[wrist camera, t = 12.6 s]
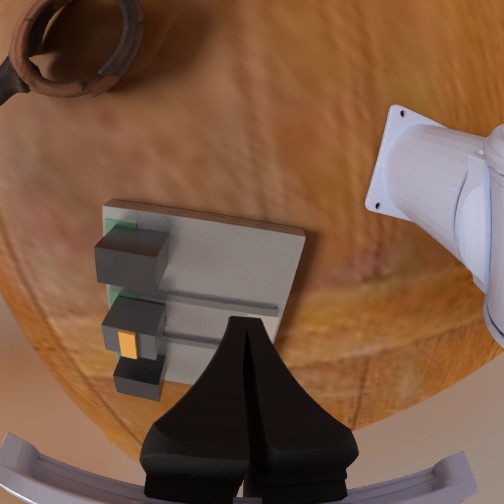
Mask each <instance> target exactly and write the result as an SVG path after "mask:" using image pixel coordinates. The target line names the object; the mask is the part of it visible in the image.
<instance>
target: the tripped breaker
mask: <svg viewBox="0 0 504 504" xmlns="http://www.w3.org/2000/svg"><path fill="white" fill-rule="evenodd" d="M102 331H103V337H104V342H105V347H106V349H108V350H112V351H116V352H120V353H121V355H122V356H124V357H128V358H133V359H137V357H142V358H147V359H152V360H156V358H157V355H158V351H159V348H160V344H161V341H162V337H163V334H164V331H165V305H160V304H154V303H149V302H143V301H138V300H133V299H128V298H123V297H118V296H117V297H116V299H115V301H114V303H113V305H112V306H111V308H110V310H109V312H108V314H107V315H106V317H105V319H104V321H103V323H102Z"/></svg>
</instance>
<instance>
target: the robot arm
mask: <svg viewBox="0 0 504 504" xmlns="http://www.w3.org/2000/svg"><path fill="white" fill-rule="evenodd" d="M401 111H403V112H404V116H403V117H401V115H400V112H401ZM377 203H380V204H379V207H377V208H375V205H376V204H377ZM365 207H366V208H367V209H368V210H370V211H373V212H377V213H381V214H385V215H389V216H393V217H397V218H401V219H404V220H408V221H412V222H415V223H416V224H417V225H419V226H420V227H421V228H422V229H424V230H425V231H426V232H427V233H428V234H430V235H431V236H432V237H433V238H434V239H436V240H437V241H438V242H439V243H440V244H442V245H443V246H444V247H445V248H446V249H447V250H448V251H450V252H451V253H452V254H453V255H454V256H455V257H456V258H457V259H458V260H460V261H461V262H462V263H463V264H464V265H465V266H466V267H467V268H468V269H469V270H470V271H471V272H472V275H473V282H474V283H475V284H476V285H477V286H478V287H479V288H480V289H481V290H482V291H483V293H484V294H485V299H484V306H483V314H484V319H485V323H486V326H487V328H488V330H489V332H490V334H491V335H492V337H493V338H494V339H495V340H496V342H497V343H499V344H500V345H501V346H502V347H503V348H504V124H502V125H499V126H498V127H496V128H495V129H494V130H493V132H492V133H491V134H490V135H489V136H488V137H487V138H485V137H482V136H478V135H474V134H470V133H466V132H462V131H457V130H453V129H449V128H447V127H445V126H443V125H441V124H439V123H437V122H435V121H433V120H431V119H429V118H427V117H425V116H423V115H420V114H418V113H416V112H414V111H411V110H409V109H407V108H405V107H402V106H400V105H395V104H394V105H392V106H391V107H390V109H389V113H388V117H387V122H386V126H385V130H384V134H383V138H382V142H381V146H380V150H379V154H378V158H377V162H376V165H375V169H374V173H373V176H372V180H371V183H370V187H369V190H368V193H367V197H366V200H365ZM358 455H359V451H358V447H357V443H356V441H355V438H354V436H353V434H352V431H351V429H349V428H348V427H346V426H345V425H343V424H342V423H341V422H339V421H338V420H336V419H335V418H333V417H332V416H331V415H330V414H329V413H327V412H326V411H325V410H324V409H323V408H322V407H321V406H320V405H319V404H317V403H316V402H315V401H314V400H313V399H312V398H311V397H310V396H309V395H308V394H307V393H306V391H305V390H304V389H303V388H302V387H301V386H300V385H299V383H298V382H297V381H296V380H295V378H294V377H293V376H292V374H291V373H290V371H289V370H288V369H287V367H286V366H285V364H284V363H283V361H282V359H281V358H280V356H279V354H278V353H277V351H276V349H275V347H274V346H273V344H272V342H271V340H270V338H269V336H268V333H267V331H266V329H265V326H264V324H263V321H262V319H261V318H255V317H242V316H230V317H229V318H228V324H227V327H226V330H225V333H224V335H223V338H222V340H221V342H220V344H219V346H218V348H217V350H216V352H215V354H214V356H213V357H212V359H211V361H210V362H209V364H208V366H207V367H206V369H205V370H204V372H203V373H202V374H201V376H200V377H199V378H198V380H197V381H196V382H195V383H194V385H193V386H192V387H191V388H190V390H189V391H188V392H187V393H186V394H185V395H184V396H183V397H182V398H181V399H180V400H179V401H178V402H177V403H176V404H175V405H174V406H173V407H172V408H171V409H170V410H169V411H168V412H166V413H165V414H164V415H163V416H162V417H160V418H159V419H158V420H157V421H155V422H154V423H153V425H152V426H151V428H150V430H149V432H148V434H147V436H146V438H145V440H144V442H143V445H142V449H141V454H140V459H139V460H140V463H141V465H142V467H143V469H144V471H145V472H146V474H147V475H146V481H145V486H140V485H136V484H131V483H127V482H123V481H119V480H115V479H112V478H108V477H104V476H101V475H98V474H94V473H91V472H88V471H85V470H82V469H79V468H76V467H74V466H71V465H68V464H66V463H63V462H60V461H58V460H55V459H53V458H50V457H48V456H45V455H43V454H41V453H39V451H38V450H37V449H36V448H35V447H34V446H33V445H32V444H30V443H29V442H27V441H25V440H23V439H21V438H19V437H17V436H15V435H13V434H11V433H9V432H8V433H6V435H5V437H4V440H3V442H2V445H1V447H0V486H1V487H3V488H4V489H5V490H7V491H8V492H10V493H12V494H13V495H15V496H16V497H18V498H20V499H21V500H23V501H25V502H27V503H29V504H459V503H461V502H463V501H464V500H466V499H468V498H469V497H471V496H473V495H474V494H476V493H477V492H478V490H479V489H478V487H477V484H476V481H475V479H474V476H473V473H472V471H471V468H470V466H469V464H468V461H467V459H466V456H465V454H464V452H463V451H461V452H458V453H456V454H453V455H451V456H448V457H446V458H444V459H442V460H441V461H439V462H438V463H437V464H435V465H434V467H432V468H429V469H426V470H423V471H420V472H417V473H414V474H411V475H407V476H404V477H401V478H396V479H393V480H389V481H385V482H381V483H377V484H372V485H368V486H363V487H358V488H353V489H346V484H345V479H346V478H347V473H346V468H347V467H349V465H351V464H352V463H353V462H354V461H355V459H356V458H357V456H358ZM243 480H244V483H243V497H236V496H237V493H238V490H239V487H240V486H241V485H242V482H243Z"/></svg>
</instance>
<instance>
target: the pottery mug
mask: <svg viewBox="0 0 504 504" xmlns="http://www.w3.org/2000/svg"><path fill="white" fill-rule="evenodd" d="M71 1H73V0H32V1H31V2H30V4H29V5H28V6H27V7H26V8H25V10H24V11H23V13H22V14H21V16H20V18H19V20H18V21H17V23H16V26H15V28H14V31H13V33H12V40H11V45H10V49H9V53H8V56H7V57H6V59H5V61H4V62H3V63H2V64H1V66H0V106H1V105H2V104H3V103H5V102H6V101H7V100H8V99H9V98H10V97H11V96H13V95H14V94H16V93H20V92H21V93H29V92H30V91H33V92H36V93H39V94H43V95H46V96H51V97H66V98H71V97H78V96H82V95H86V94H88V93H90V92H91V93H92V94H93V96H94V97H96V96H98V95H100V94H102V93H103V92H105V91H107V90H108V89H110V88H111V87H113V86H114V85H115V84H116V83H118V82H119V78H122V77H123V76H125V75H126V73H127V72H128V70H129V68H130V66H131V65H132V63H133V61H134V59H135V57H136V54H137V52H138V50H139V47H140V45H141V42H142V38H143V33H144V28H145V27H144V24H142V23H141V21H142V19H143V17H144V12H143V8H142V5H141V3H140V0H116V2H117V3H118V4H119V6H120V9H121V11H122V15H123V31H122V35H121V38H120V41H119V44H118V46H117V48H116V50H115V51H114V53H113V54H112V56H111V57H110V58H109V60H108V61H107V62H106V63H105V64H104V65H103V66H102V67H101V68H100V69H99V70H98V73H99V74H98V75H96V76H94V77H93V78H91V79H89V80H86V81H81V80H76V81H71V82H55V81H51V80H48V79H46V78H44V77H43V76H42V75H41V73H40V70H39V67H38V66H36V65H35V64H34V63H32V62H31V61H30V60H29V57H33V56H34V55H41V54H42V53H43V47H42V40H43V34H44V31H45V29H46V26H47V24H48V22H49V20H50V19H51V18H52V16H53V15H54V14H55V13H56V12H57V11H58V10H59V9H61V8H62V7H63V6H65V5H66V4H68V3H69V2H71Z"/></svg>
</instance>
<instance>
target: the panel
mask: <svg viewBox="0 0 504 504" xmlns="http://www.w3.org/2000/svg"><path fill="white" fill-rule="evenodd" d="M305 239H306V236H305V234H304V232H303V229H302V228H297V227H291V226H286V225H280V224H274V223H268V222H262V221H256V220H250V219H244V218H238V217H232V216H226V215H219V214H213V213H206V212H200V211H193V210H186V209H180V208H173V207H166V206H159V205H151V204H144V203H136V202H129V201H121V200H113V199H111V200H110V201H108V202H107V203H106V204H105V205H103V238H102V239H101V240H100V241H99V242H98V244H97V245H96V246H95V247H94V248H95V262H96V273H97V282H100V283H105V284H106V285H107V295H108V304H109V310H110V308H111V306H112V305H113V303H114V301H115V299H116V297H117V296H118V297H123V298H128V299H133V300H138V301H143V302H149V303H154V304H160V305H165V331H164V334H163V337H162V341H161V344H160V348H159V351H158V355H157V358H156V360H152V359H147V358H142V357H137V359H133V358H128V357H124V356H122V355H121V353H120V352H116V351H115V352H116V358H117V363H118V364H117V367H116V369H115V372H114V374H113V377H114V381H115V385H116V389H117V392H120V393H124V394H128V395H132V396H136V397H141V398H145V399H150V400H155V401H160V398H161V393H162V389H163V384H164V380H168V381H173V382H179V383H185V384H192V385H194V383H195V382H196V381H197V380H198V378H199V377H200V376H201V374H202V373H203V372H204V370H205V369H206V367H207V366H208V364H209V362H210V361H211V359H212V357H213V356H214V354H215V352H216V350H217V348H218V346H219V344H220V342H221V340H222V338H223V335H224V333H225V330H226V327H227V324H228V318H229V317H230V316H242V317H255V318H261V319H262V321H263V324H264V326H265V329H266V331H267V333H268V336H269V338H270V340H271V342H272V344H273V343H274V340H275V337H276V334H277V331H278V328H279V325H280V322H281V318H282V315H283V312H284V309H285V306H286V303H287V299H288V296H289V293H290V290H291V286H292V283H293V280H294V276H295V273H296V270H297V266H298V263H299V260H300V256H301V253H302V249H303V246H304V242H305Z"/></svg>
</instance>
